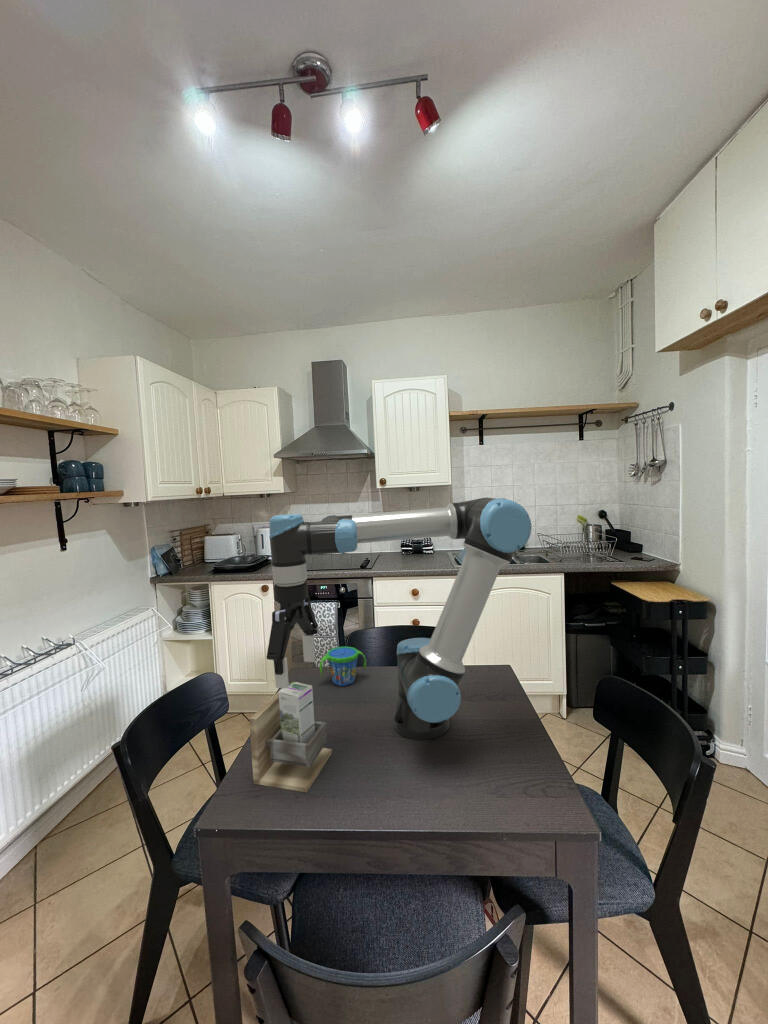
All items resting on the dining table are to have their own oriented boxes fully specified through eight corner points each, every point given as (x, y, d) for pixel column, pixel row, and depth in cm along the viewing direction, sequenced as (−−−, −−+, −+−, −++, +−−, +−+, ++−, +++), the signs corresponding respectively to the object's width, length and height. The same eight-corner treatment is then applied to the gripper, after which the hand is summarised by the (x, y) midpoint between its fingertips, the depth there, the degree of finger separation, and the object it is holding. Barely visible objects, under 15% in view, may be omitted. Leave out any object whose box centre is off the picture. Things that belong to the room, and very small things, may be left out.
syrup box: (316, 744, 103) (313, 684, 102) (300, 758, 97) (297, 695, 96) (297, 738, 105) (294, 679, 104) (281, 751, 100) (277, 690, 99)
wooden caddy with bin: (331, 753, 107) (328, 693, 106) (306, 792, 94) (303, 725, 93) (284, 746, 111) (280, 689, 110) (253, 783, 97) (249, 718, 96)
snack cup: (364, 672, 152) (362, 643, 152) (369, 685, 142) (368, 654, 142) (319, 678, 149) (317, 649, 148) (321, 692, 139) (320, 661, 138)
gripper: (300, 570, 112) (305, 651, 113) (244, 596, 88) (252, 698, 89) (327, 570, 110) (332, 653, 111) (277, 597, 86) (285, 701, 87)
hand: (296, 673), depth 100 cm, fingers open, 13 cm apart
